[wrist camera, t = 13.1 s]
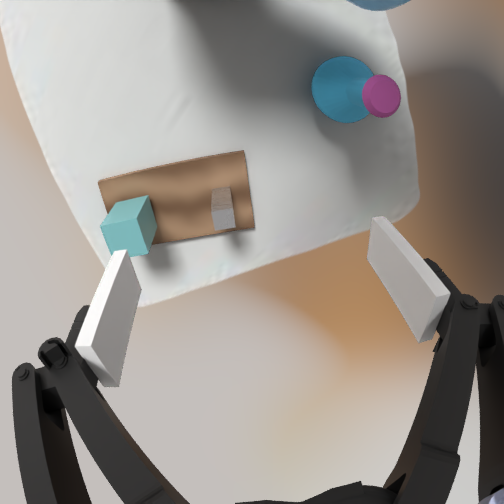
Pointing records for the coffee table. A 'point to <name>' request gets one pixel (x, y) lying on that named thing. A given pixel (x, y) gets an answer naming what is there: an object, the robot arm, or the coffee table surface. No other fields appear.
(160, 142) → the coffee table surface
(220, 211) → the post
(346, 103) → the perfume bottle
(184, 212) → the board
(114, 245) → the teal rectangular prism
